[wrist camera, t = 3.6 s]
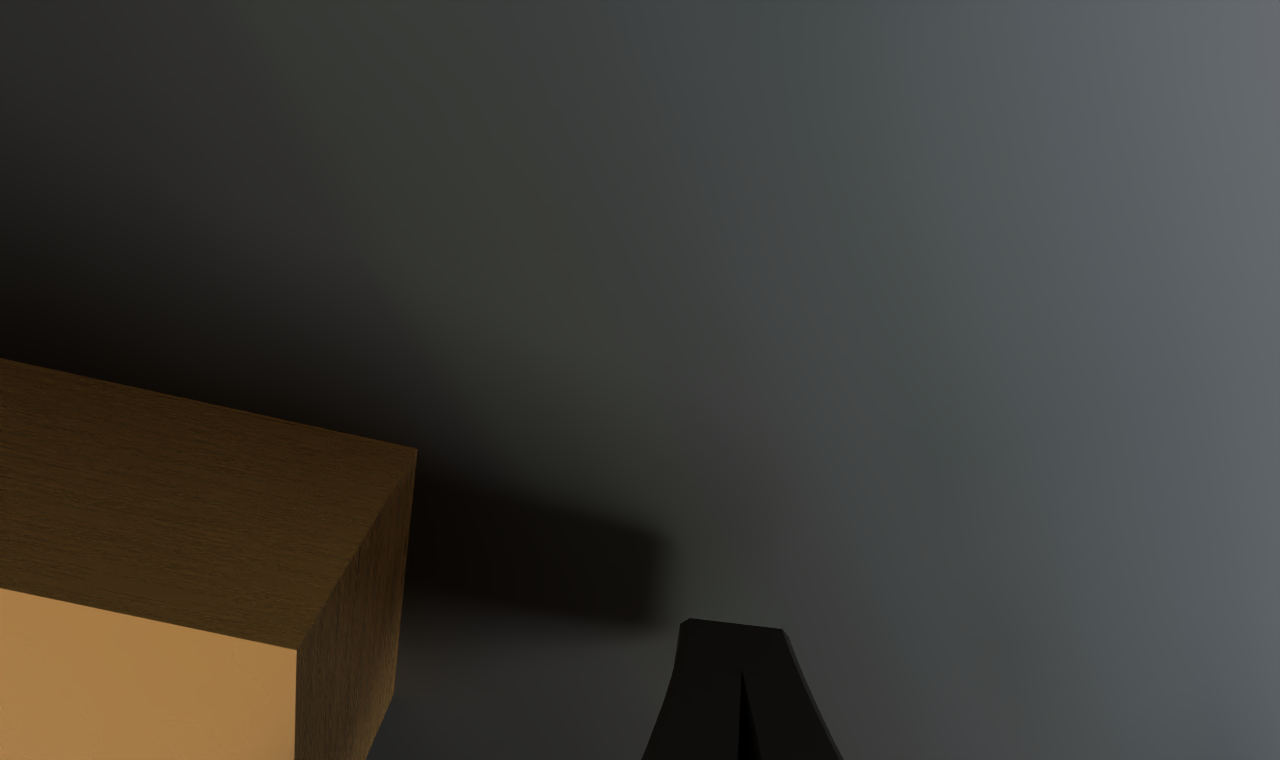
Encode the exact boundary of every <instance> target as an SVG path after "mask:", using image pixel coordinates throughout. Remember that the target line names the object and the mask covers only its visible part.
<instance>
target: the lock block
mask: <svg viewBox="0 0 1280 760" xmlns="http://www.w3.org/2000/svg"><path fill="white" fill-rule="evenodd" d="M417 450H418V449H417V448H412V447H408V446H403V445H399V444H394V443H389V442H385V441H380V440H376V439H371V438H366V437H362V436H357V435H353V434H348V433H343V432H339V431H334V430H330V429H325V428H320V427H316V426H311V425H307V424H302V423H297V422H293V421H288V420H283V419H279V418H274V417H270V416H265V415H260V414H256V413H251V412H247V411H242V410H237V409H233V408H228V407H224V406H219V405H214V404H210V403H205V402H201V401H196V400H191V399H187V398H182V397H178V396H173V395H168V394H164V393H159V392H154V391H150V390H145V389H141V388H136V387H131V386H127V385H122V384H118V383H113V382H108V381H104V380H99V379H95V378H90V377H85V376H81V375H76V374H72V373H67V372H62V371H58V370H53V369H49V368H44V367H39V366H35V365H30V364H25V363H21V362H16V361H12V360H7V359H2V358H0V760H365V759H366V757H367V754H368V752H369V750H370V747H371V745H372V743H373V740H374V738H375V736H376V733H377V731H378V729H379V727H380V724H381V722H382V720H383V717H384V715H385V713H386V710H387V708H388V706H389V703H390V701H391V699H392V696H393V693H394V683H395V673H396V662H397V652H398V642H399V632H400V622H401V612H402V602H403V592H404V582H405V572H406V561H407V551H408V541H409V531H410V521H411V511H412V501H413V491H414V481H415V470H416V460H417Z"/></svg>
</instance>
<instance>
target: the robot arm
mask: <svg viewBox="0 0 1280 760" xmlns="http://www.w3.org/2000/svg"><path fill="white" fill-rule="evenodd" d="M641 760H843V758H842V756H841V754H840V752H839V750H838V748H837V746H836V744H835V742H834V740H833V738H832V736H831V734H830V732H829V730H828V728H827V726H826V724H825V722H824V720H823V718H822V715H821V713H820V711H819V709H818V707H817V704H816V702H815V700H814V698H813V696H812V694H811V691H810V689H809V687H808V684H807V682H806V680H805V678H804V675H803V673H802V670H801V668H800V665H799V663H798V660H797V658H796V655H795V653H794V650H793V647H792V645H791V642H790V639H789V637H788V636H787V634H786V633H785V632H784V631H783V630H782V629H777V628H768V627H760V626H751V625H743V624H735V623H726V622H718V621H709V620H701V619H692V618H689V619H688V620H686V621H684V622H683V623H681V624H680V629H679V636H678V643H677V650H676V657H675V664H674V669H673V673H672V677H671V680H670V683H669V686H668V690H667V693H666V696H665V699H664V702H663V705H662V708H661V710H660V713H659V716H658V718H657V721H656V724H655V726H654V729H653V732H652V734H651V737H650V740H649V742H648V745H647V748H646V750H645V752H644V755H643V757H642V759H641Z"/></svg>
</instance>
